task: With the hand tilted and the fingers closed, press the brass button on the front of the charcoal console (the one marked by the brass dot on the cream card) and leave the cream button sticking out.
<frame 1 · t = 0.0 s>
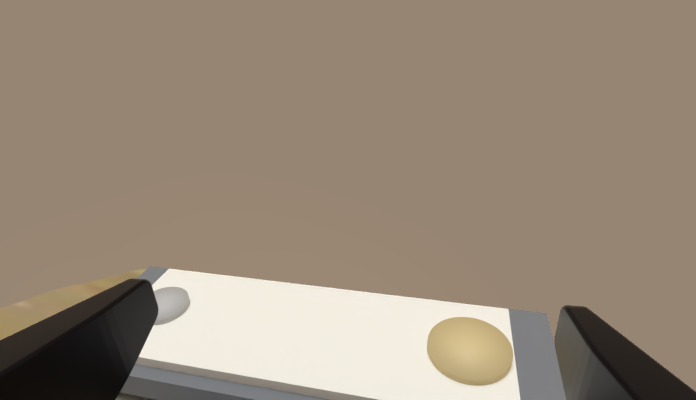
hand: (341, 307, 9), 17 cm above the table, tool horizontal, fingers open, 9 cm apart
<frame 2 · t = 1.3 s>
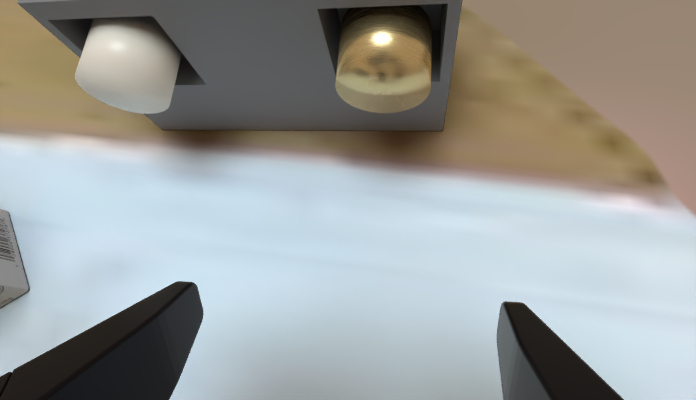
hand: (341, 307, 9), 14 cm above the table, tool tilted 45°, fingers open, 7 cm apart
brass button: (384, 58, 18), point 8 cm above the table, slide at 0.0 cm
console: (300, 88, 28), on the table
cream button: (132, 64, 20), point 8 cm above the table, slide at 0.0 cm
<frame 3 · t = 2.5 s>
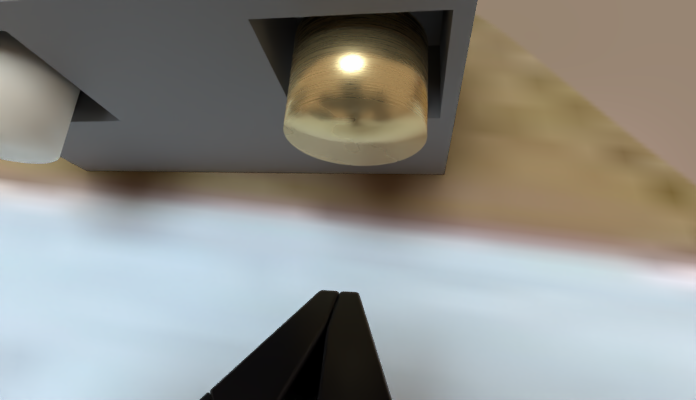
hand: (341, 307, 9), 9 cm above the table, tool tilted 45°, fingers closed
brass button: (358, 91, 12), point 8 cm above the table, slide at 0.0 cm
console: (261, 117, 21), on the table
cream button: (2, 98, 14), point 8 cm above the table, slide at 0.0 cm
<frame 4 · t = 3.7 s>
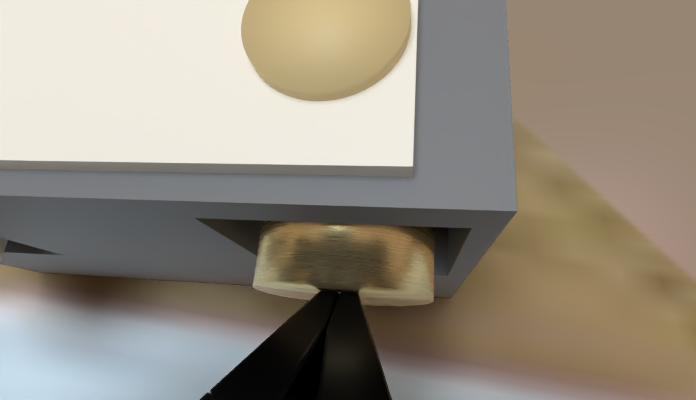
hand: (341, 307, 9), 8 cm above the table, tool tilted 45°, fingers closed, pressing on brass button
brass button: (348, 230, 10), point 8 cm above the table, slide at 1.0 cm, touching gripper
console: (241, 215, 19), on the table
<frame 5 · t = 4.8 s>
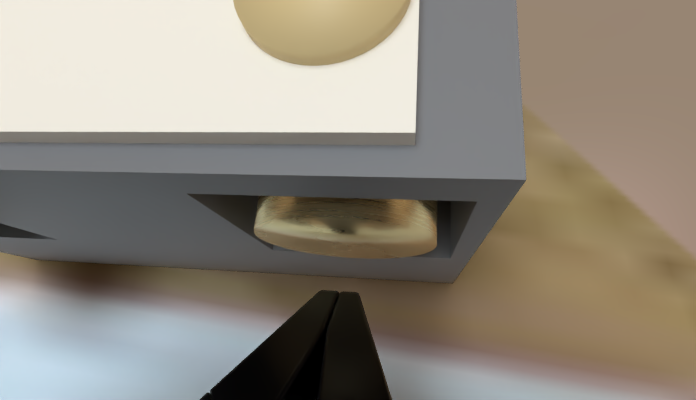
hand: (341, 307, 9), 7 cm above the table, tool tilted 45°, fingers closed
brass button: (349, 178, 10), point 7 cm above the table, slide at 1.8 cm
console: (239, 201, 18), on the table
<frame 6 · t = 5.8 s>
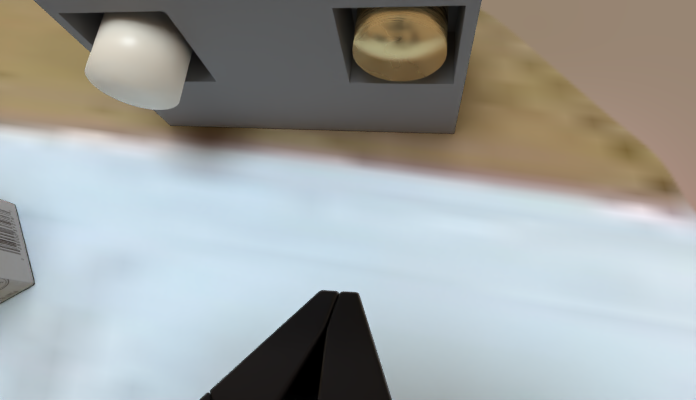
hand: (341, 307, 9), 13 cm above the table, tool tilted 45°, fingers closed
brass button: (401, 25, 19), point 7 cm above the table, slide at 1.8 cm
console: (310, 87, 27), on the table
cream button: (142, 59, 20), point 7 cm above the table, slide at 0.0 cm
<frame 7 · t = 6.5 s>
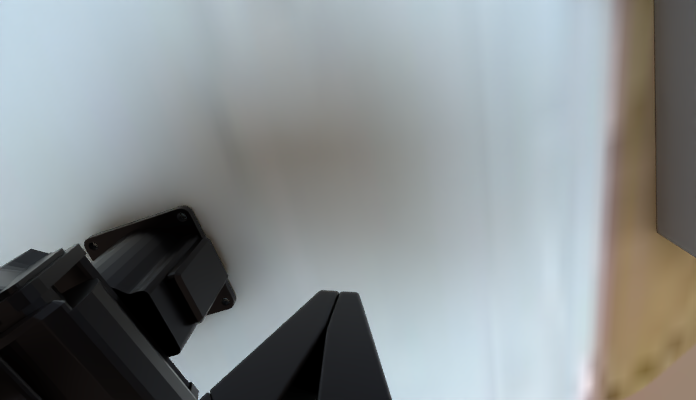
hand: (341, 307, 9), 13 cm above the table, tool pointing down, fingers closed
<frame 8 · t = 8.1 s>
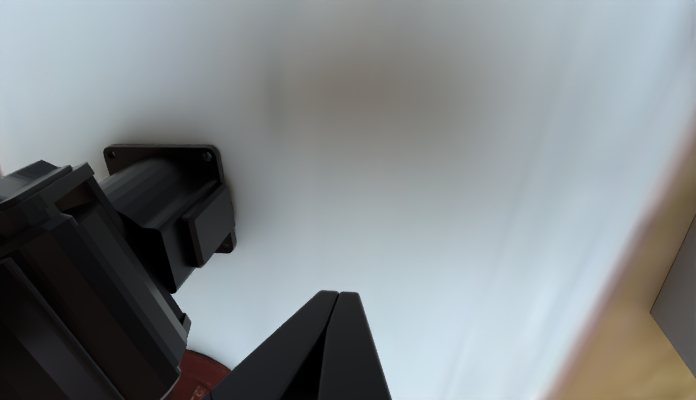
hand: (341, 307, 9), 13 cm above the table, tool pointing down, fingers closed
lantern: (190, 395, 33), on the table
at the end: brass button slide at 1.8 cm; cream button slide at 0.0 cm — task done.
